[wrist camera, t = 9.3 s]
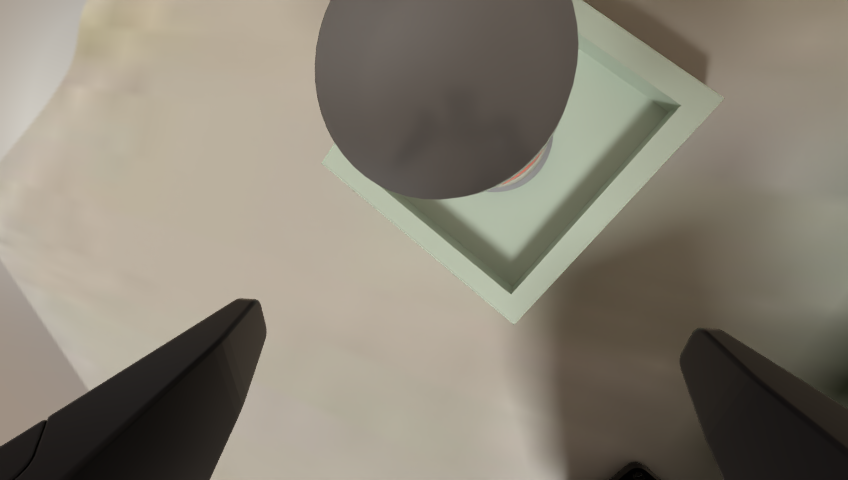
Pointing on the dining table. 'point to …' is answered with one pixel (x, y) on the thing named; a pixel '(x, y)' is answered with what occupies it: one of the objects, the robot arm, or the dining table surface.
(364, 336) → the dining table surface
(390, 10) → the ball
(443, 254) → the tray
